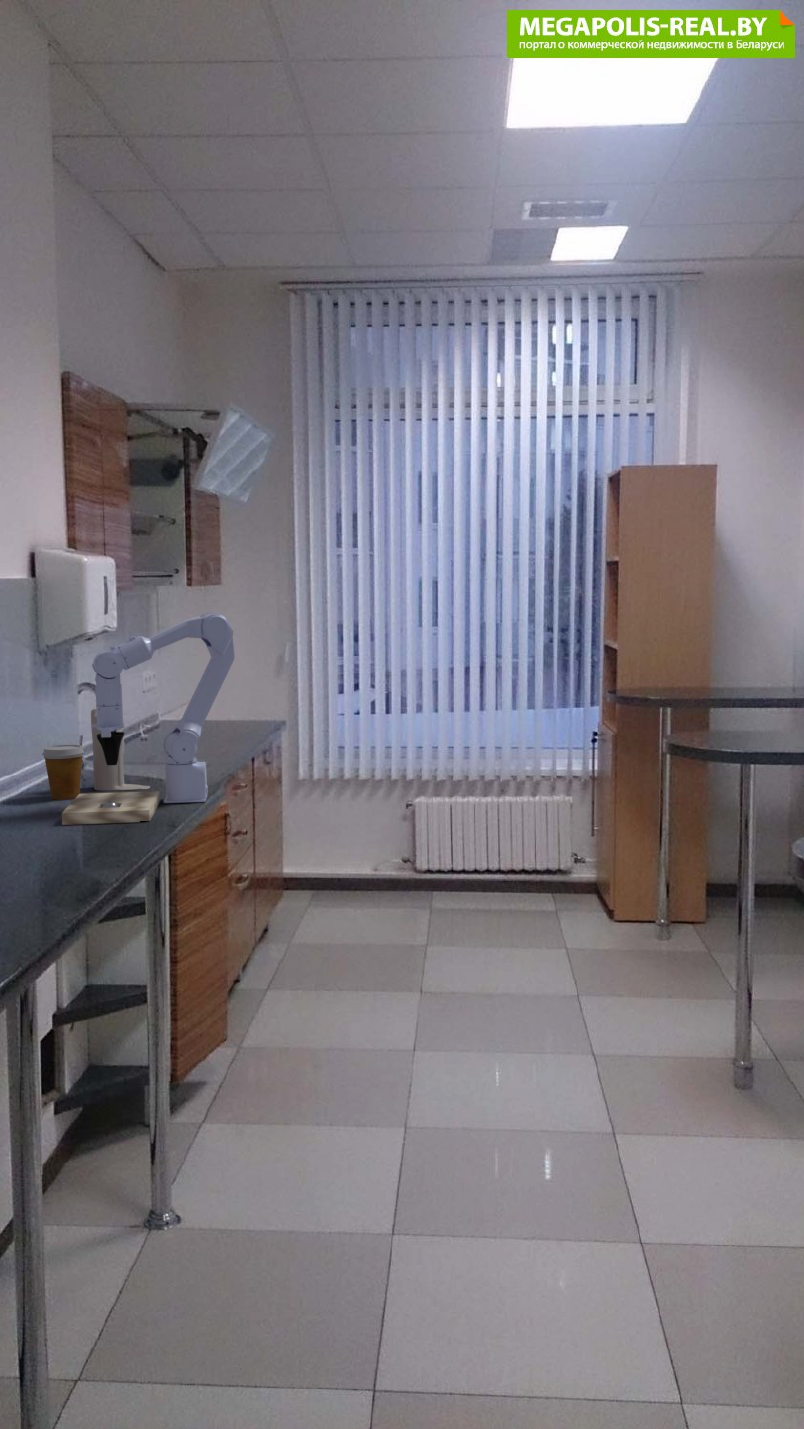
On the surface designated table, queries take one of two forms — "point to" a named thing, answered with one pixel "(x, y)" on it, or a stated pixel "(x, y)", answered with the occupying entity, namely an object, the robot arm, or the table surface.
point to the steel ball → (110, 804)
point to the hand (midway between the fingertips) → (112, 764)
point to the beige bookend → (108, 774)
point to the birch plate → (128, 809)
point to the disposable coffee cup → (64, 770)
